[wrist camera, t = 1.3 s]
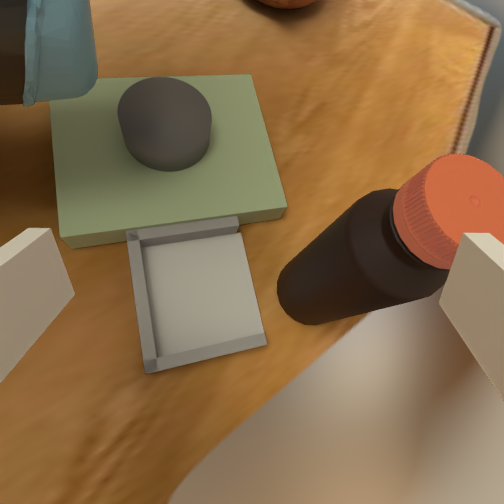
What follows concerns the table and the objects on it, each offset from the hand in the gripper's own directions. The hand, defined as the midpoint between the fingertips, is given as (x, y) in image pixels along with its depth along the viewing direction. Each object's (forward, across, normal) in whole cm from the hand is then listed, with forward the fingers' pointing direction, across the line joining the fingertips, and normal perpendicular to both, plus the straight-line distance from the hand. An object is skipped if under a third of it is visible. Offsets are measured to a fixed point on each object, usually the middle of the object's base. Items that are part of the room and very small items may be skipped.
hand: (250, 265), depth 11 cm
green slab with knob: (+20, -8, -7) cm, 23 cm away
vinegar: (+17, +4, -14) cm, 23 cm away
